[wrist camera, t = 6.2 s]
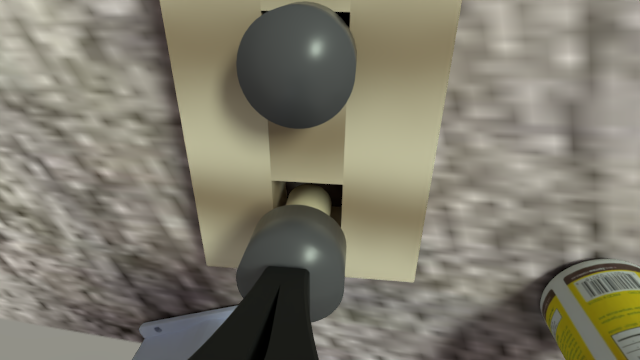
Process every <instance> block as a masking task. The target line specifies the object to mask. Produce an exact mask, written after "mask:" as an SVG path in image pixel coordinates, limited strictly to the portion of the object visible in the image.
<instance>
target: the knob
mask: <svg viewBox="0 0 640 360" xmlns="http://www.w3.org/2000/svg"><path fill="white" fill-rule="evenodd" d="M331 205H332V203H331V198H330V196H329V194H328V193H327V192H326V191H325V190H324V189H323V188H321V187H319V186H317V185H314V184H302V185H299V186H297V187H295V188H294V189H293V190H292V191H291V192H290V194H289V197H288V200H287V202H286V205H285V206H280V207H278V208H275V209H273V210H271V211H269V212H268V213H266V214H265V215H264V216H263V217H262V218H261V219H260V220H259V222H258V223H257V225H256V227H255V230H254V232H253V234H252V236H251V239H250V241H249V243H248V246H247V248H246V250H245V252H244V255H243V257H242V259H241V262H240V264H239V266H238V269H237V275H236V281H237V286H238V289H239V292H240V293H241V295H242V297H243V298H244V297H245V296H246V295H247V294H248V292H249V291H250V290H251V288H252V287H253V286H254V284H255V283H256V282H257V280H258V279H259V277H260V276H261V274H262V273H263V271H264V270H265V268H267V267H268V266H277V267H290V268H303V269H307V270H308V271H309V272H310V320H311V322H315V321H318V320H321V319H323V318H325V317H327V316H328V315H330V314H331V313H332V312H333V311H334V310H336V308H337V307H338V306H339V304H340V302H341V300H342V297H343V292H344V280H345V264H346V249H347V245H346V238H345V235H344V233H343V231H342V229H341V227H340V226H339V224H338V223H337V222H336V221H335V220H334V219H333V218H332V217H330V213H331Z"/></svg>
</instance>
